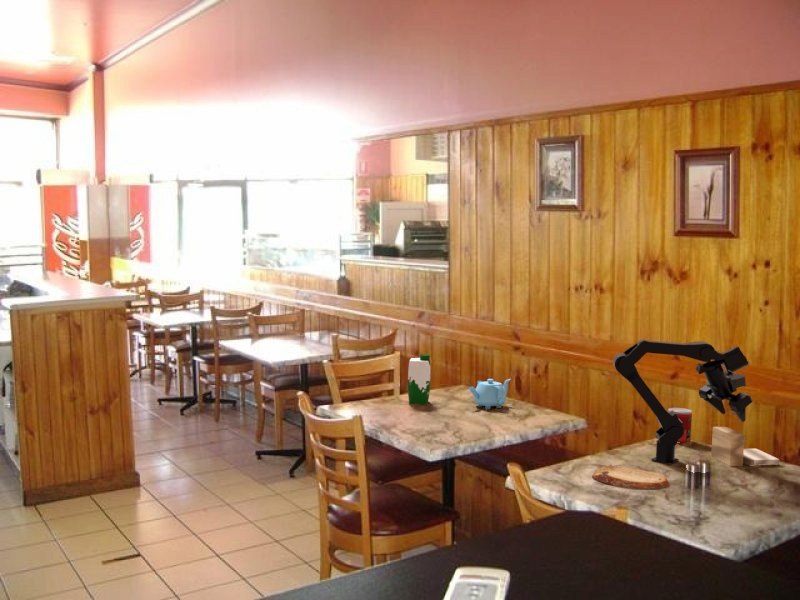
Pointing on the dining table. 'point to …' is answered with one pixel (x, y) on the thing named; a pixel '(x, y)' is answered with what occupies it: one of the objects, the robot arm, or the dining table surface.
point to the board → (758, 457)
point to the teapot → (490, 393)
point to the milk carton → (419, 379)
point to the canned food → (684, 422)
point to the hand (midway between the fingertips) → (733, 417)
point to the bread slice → (630, 477)
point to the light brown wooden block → (727, 446)
